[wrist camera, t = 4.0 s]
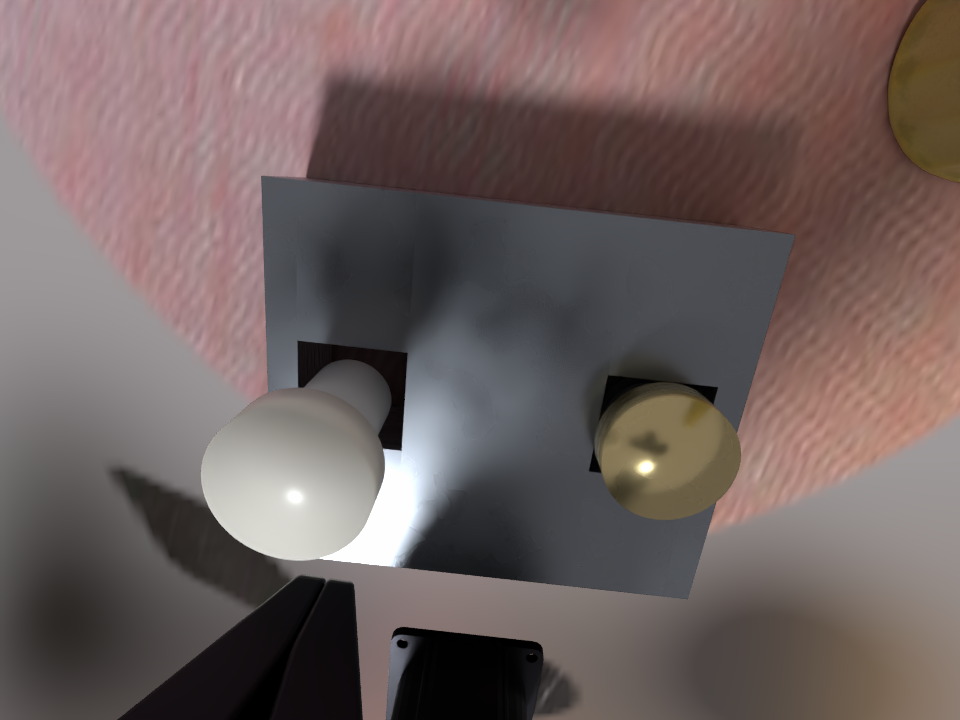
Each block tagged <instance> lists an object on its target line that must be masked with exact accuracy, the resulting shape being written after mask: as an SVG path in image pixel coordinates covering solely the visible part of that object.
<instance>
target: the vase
mask: <svg viewBox="0 0 960 720" xmlns="http://www.w3.org/2000/svg"><path fill="white" fill-rule="evenodd" d="M888 113H889V118H890V124H891V127H892V130H893V133H894V135H895V138H896V140H897V142H898V144H899V145H900V147H901V149H902V150H903V152H904V153H905V154H906V155H907V156H908V158H909V159H910V160H911V161H912V162H913V163H915V164H916V165H917V166H918V167H920V168H921V169H923V170H925V171H927V172H928V173H931V174H933V175H936V176H938V177H941V178H944V179H947V180H950V181H954V182H958V183H960V0H927V1H926V2H925V3H924V5H923V6H922V7H921V8H920V10H919V11H918V12H917V14H916V15H915V17H914V18H913V20H912V22H911V23H910V25H909V27H908V29H907V31H906V33H905V35H904V37H903V39H902V41H901V43H900V46H899V49H898V51H897V54H896V56H895V60H894V63H893V66H892V69H891V74H890V79H889V84H888Z"/></svg>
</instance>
